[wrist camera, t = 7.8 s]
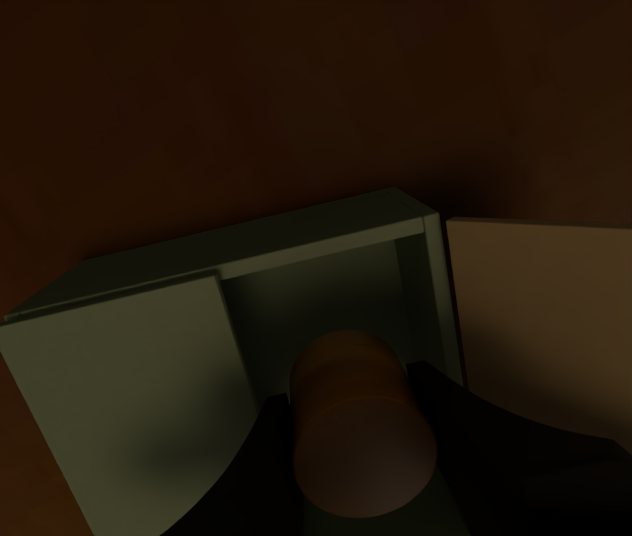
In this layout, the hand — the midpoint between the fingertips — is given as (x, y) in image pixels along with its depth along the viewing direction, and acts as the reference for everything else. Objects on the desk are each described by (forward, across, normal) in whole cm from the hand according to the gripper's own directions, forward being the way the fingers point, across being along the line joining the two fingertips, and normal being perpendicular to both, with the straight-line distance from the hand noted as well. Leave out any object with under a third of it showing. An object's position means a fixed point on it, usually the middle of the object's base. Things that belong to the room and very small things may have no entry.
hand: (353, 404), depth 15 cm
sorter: (+6, +3, +1) cm, 6 cm away
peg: (+1, 0, 0) cm, 1 cm away
